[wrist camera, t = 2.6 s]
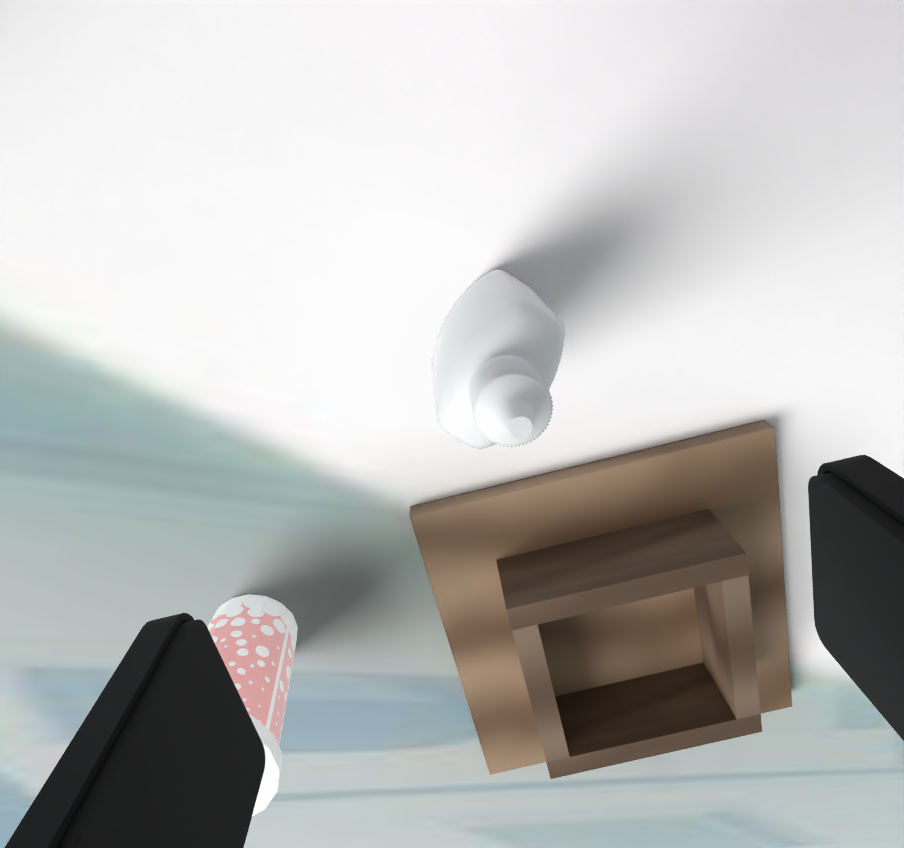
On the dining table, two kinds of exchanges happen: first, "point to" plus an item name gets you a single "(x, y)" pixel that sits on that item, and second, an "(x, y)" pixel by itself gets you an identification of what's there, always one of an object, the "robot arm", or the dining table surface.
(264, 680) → the beverage cup
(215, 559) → the dining table surface
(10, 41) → the dining table surface
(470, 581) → the walnut stand
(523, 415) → the eye dropper bottle
